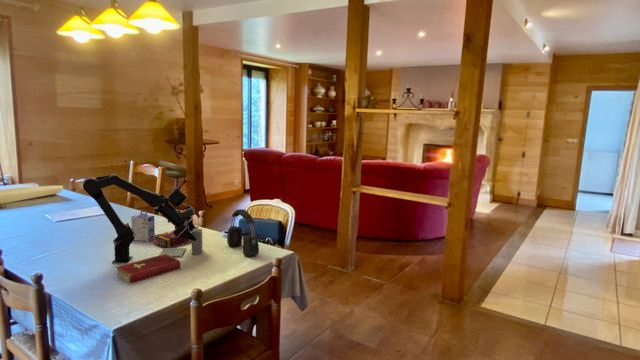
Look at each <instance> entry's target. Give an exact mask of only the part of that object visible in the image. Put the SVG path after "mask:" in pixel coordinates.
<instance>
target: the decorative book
mask: <svg viewBox="0 0 640 360" xmlns="http://www.w3.org/2000/svg"><path fill="white" fill-rule="evenodd" d="M173 231H174V230H172V231H165V232H162V233H159V234H158V233H157V234H155V235H153V237H154V238H155V239H154V241H153V242H152V245H154V246H155V245H156V246H160V247H162V248H163V249H164V248H176V247H177V246H179V245H185V244H189V243H191V242H192V240H189V239H186V238H182V237H178V236H179V235H180V234H179V235H178V236H177V237H176V236H175V235H173Z"/></svg>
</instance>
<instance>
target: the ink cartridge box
mask: <svg viewBox="0 0 640 360" xmlns="http://www.w3.org/2000/svg"><path fill="white" fill-rule="evenodd" d="M130 219H131V221H130V222H131V225H130V227H131V228H132V229H133V231H134V233H135V234H133V235H134V237H135V239H134V241H141V242H150V241H153V240H155V238H154V237H153V235H156V233H155V232H156V231H155V230H156V229H155V227H156V226H155V215H148V211H147V210H140V213H139V214H135V215H132V216H131V218H130Z"/></svg>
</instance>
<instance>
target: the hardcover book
mask: <svg viewBox="0 0 640 360" xmlns="http://www.w3.org/2000/svg"><path fill="white" fill-rule="evenodd" d="M158 255H159V254H158ZM158 255H156V256H155V255H154V256H152V257H148V258H145V259H140V260H137V261H133V262H128V263H123V264H121V265H117V266H115V268H116V269H117V272H116V273H117V276H118V277H120V278H121V279H122V280H124V281H125V280H126V282H127V283H128V285H131V283H132V284H135V283H138V282H141V281H144V280H147V279H152V278H154V277H158V276H161V275H164V274H168V273H170V272H174V271H179V270H181V268H182V265H181V260H180V259H178V258H177V257H172V256H170V255H168V254H163V255H159V256H158Z"/></svg>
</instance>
